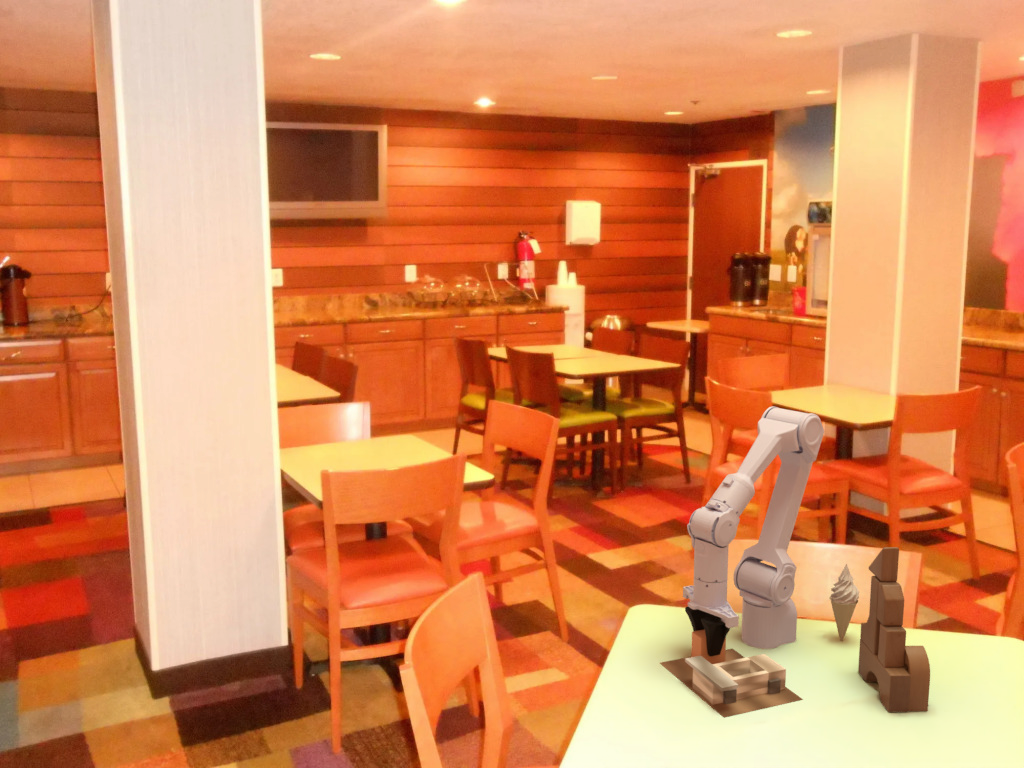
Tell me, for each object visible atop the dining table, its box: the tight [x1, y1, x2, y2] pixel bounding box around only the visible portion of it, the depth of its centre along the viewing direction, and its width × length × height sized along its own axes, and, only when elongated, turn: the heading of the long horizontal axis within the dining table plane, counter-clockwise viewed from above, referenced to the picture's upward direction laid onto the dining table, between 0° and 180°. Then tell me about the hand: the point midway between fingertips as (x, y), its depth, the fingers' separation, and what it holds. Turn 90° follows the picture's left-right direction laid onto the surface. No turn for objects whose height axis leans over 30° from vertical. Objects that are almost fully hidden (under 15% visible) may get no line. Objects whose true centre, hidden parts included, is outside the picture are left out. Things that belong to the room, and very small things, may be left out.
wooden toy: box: [857, 546, 931, 713], centre depth 157 cm, size 15×7×25 cm, turn 0°
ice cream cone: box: [829, 563, 860, 642], centre depth 176 cm, size 5×5×15 cm
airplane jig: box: [659, 648, 804, 718], centre depth 160 cm, size 15×20×5 cm
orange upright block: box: [690, 629, 727, 664], centre depth 167 cm, size 5×3×6 cm, turn 111°
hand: (708, 650), depth 167 cm, fingers closed on orange upright block, 3 cm apart
